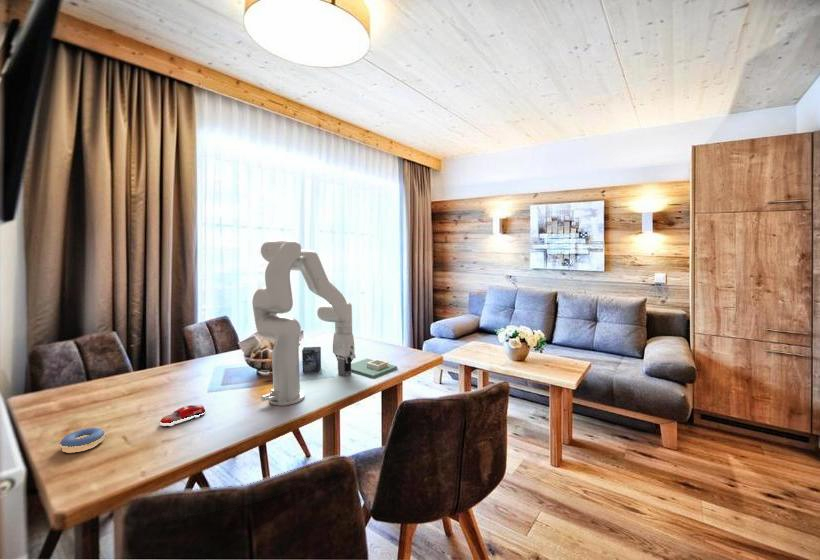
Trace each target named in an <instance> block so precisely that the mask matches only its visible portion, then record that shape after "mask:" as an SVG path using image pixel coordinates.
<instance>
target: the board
mask: <svg viewBox="0 0 820 560" xmlns="http://www.w3.org/2000/svg"><path fill="white" fill-rule="evenodd" d="M395 370H398V366H396V365H393V364H389V361H386V360H382V359H378V358H377V359H371V358H365V359H362V360H359V361H356V362H353V363H352V362H351V371H352V372H351V373H354V372H355V373H354V374H357V373H358V375H361V374H362V376H364V375H365V377H367V376H368V377H367V378H371V379H375V378H378V377H380V376H383V375H385V374H387V373H390V372H392V371H395Z"/></svg>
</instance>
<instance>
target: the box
mask: <svg viewBox="0 0 820 560" xmlns="http://www.w3.org/2000/svg"><path fill="white" fill-rule="evenodd" d="M321 348H322V347H321V346H310V347H309V346H305V347H304V346H303V348H302V351H301V359H302V360H301V361H302V373H316V372H317V373H320V372H321V370H322V354H321V353H322V349H321Z"/></svg>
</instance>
